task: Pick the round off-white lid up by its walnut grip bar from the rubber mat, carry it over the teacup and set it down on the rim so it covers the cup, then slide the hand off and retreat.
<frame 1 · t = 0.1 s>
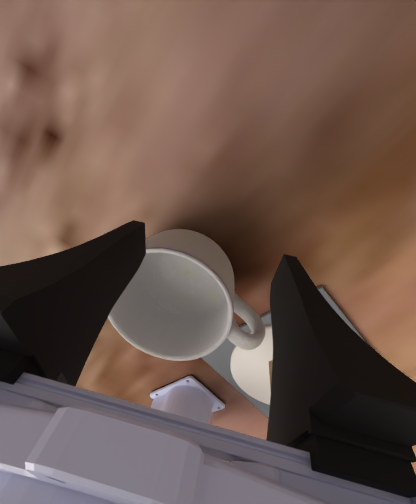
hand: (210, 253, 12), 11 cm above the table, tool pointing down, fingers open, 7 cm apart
mat: (290, 364, 30), on the table
lid: (290, 367, 29), resting on mat
teacup: (201, 270, 26), on the table
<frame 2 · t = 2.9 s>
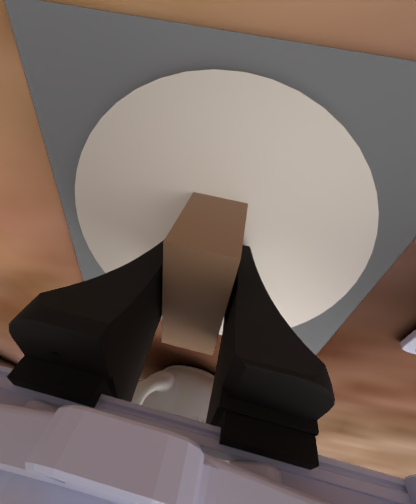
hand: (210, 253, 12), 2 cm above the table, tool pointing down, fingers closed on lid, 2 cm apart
mat: (214, 237, 13), on the table
lid: (213, 241, 13), resting on mat, touching gripper
teacup: (190, 370, 24), on the table
when the fingers open (10 cm above the table, at t = 6.3 s): lid stays where it is, resting on teacup.
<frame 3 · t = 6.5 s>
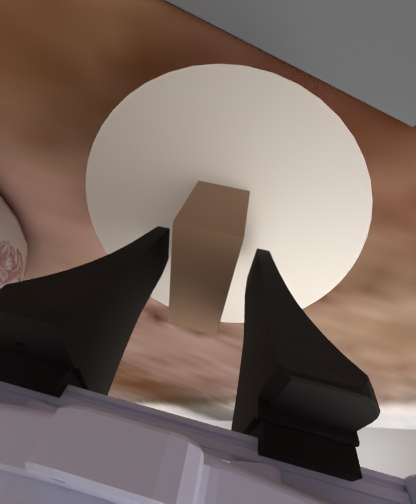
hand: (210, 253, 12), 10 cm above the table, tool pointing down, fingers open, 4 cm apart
lid: (216, 229, 14), point 8 cm above the table, touching teacup
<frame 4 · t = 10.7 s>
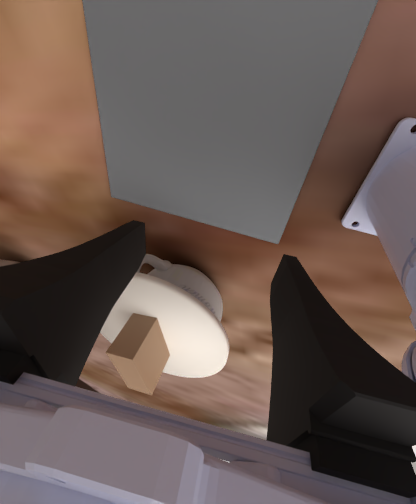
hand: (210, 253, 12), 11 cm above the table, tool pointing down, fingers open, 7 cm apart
mat: (200, 125, 19), on the table
lid: (156, 328, 23), point 8 cm above the table, touching teacup
teacup: (186, 274, 30), on the table, touching lid
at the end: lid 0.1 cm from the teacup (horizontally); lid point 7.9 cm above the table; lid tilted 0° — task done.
